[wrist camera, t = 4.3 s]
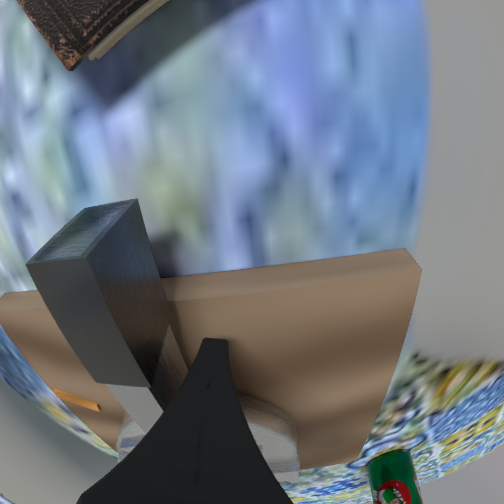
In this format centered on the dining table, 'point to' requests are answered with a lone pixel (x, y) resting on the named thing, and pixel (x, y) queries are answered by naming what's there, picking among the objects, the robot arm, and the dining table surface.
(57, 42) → the hardcover book
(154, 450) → the robot arm
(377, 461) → the soda can
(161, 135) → the dining table surface
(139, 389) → the silver mechanical part
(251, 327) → the walnut board
